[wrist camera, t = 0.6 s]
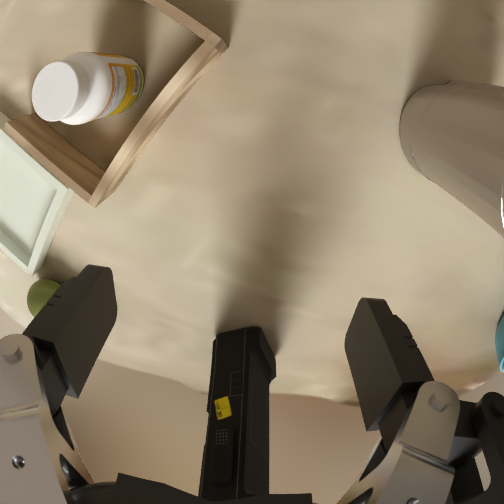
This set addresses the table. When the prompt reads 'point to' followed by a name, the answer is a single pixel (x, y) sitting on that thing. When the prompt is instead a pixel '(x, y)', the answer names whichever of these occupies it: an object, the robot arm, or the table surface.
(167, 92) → the frame
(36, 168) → the plastic tray
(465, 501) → the robot arm
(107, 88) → the supplement bottle
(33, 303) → the pear
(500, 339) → the casserole dish
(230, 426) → the portable radio
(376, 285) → the table surface
